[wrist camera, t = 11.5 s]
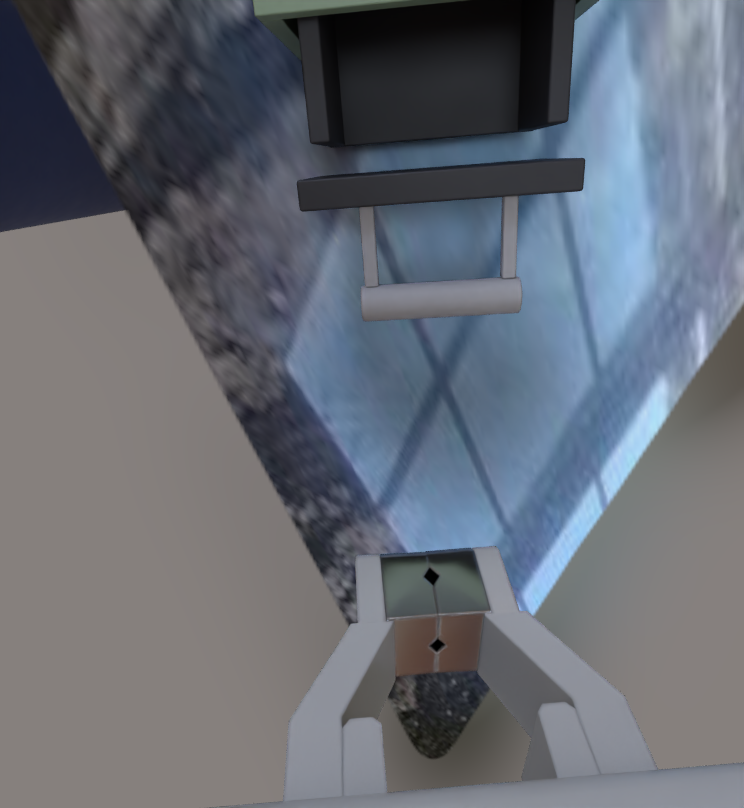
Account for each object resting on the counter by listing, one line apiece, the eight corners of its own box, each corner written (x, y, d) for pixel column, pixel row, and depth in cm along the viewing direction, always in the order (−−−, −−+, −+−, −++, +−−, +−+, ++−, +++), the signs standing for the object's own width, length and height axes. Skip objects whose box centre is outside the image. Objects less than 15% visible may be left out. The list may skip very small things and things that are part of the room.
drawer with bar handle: (536, 280, 30) (573, 314, 24) (333, 293, 31) (313, 329, 24) (558, -164, 23) (621, -298, 16) (289, -130, 24) (244, -245, 17)
